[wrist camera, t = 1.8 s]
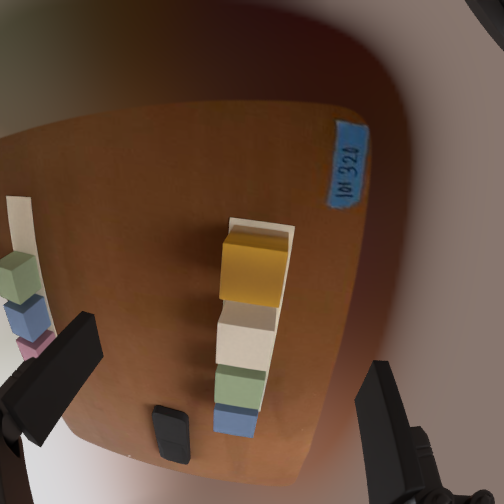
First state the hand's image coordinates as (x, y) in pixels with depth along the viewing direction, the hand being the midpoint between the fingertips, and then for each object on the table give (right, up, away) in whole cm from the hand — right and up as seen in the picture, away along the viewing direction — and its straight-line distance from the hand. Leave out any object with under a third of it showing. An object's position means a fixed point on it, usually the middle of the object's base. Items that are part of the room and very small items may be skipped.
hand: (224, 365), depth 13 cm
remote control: (-10, -22, +25) cm, 35 cm away
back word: (-27, 0, +18) cm, 32 cm away
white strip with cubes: (+1, -4, +16) cm, 16 cm away
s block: (+2, +5, +12) cm, 13 cm away
